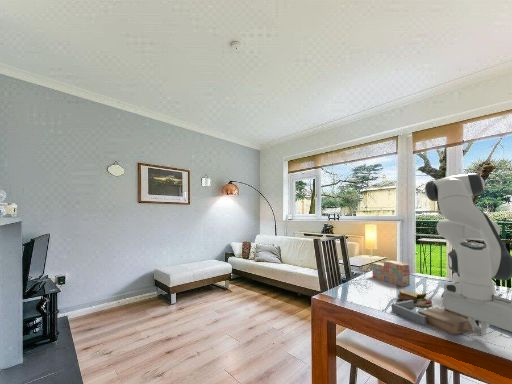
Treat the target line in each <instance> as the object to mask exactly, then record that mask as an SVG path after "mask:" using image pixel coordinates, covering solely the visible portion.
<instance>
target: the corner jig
mask: <svg viewBox="0 0 512 384" xmlns="http://www.w3.org/2000/svg"><path fill="white" fill-rule="evenodd" d="M411 309H415V306H414V301H413V300H408V301H403V300H402V301H398V302H394V303H391V312H394V313H395V314H398V315H400V316H402V317H405V318H407V319H409V320H412V321H414V322H417V323H419V324H421V325H423V326H427V325H428V324H427V319H426V316H424V315H421V314H419V313H418V312H416V311H414V310H411Z"/></svg>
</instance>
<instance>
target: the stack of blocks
mask: <svg viewBox="0 0 512 384" xmlns="http://www.w3.org/2000/svg"><path fill="white" fill-rule="evenodd" d="M371 271H372V278H375V279H378V280H380V281H382V282H383V281H384V282H386V283H391V284H394V285H397V286H399V287H407V286H408V287H409V286H410V285H411V282H410V281H411V280H410V279H411V277H410V264H409V263H404V262H400V261H395V260H392V259H391V260H384V261H383V262H372V263H371Z"/></svg>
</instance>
